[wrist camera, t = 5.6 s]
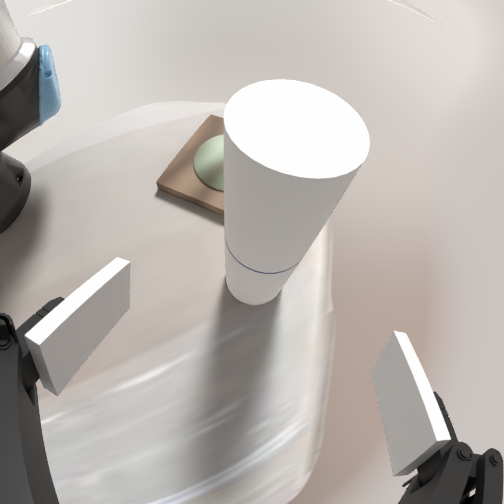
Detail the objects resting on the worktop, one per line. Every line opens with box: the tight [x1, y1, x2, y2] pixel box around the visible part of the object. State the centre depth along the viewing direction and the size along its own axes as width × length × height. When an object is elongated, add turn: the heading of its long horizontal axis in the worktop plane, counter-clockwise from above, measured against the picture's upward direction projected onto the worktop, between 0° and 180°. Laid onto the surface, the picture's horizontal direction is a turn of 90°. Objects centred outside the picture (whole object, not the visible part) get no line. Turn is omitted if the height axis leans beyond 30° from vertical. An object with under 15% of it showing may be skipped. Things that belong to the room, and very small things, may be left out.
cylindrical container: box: [224, 80, 370, 305], centre depth 24 cm, size 7×7×25 cm
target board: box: [156, 115, 224, 216], centre depth 41 cm, size 16×16×2 cm
